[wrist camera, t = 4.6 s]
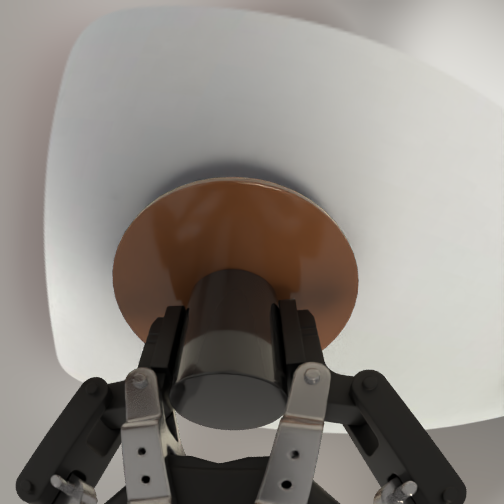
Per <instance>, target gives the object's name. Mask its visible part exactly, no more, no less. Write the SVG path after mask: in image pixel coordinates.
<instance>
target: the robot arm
mask: <svg viewBox="0 0 504 504" xmlns="http://www.w3.org/2000/svg"><path fill="white" fill-rule="evenodd" d="M185 314H186V309H185V307H184V305H180V306H168V307H167V308H166V312H165V315H164V317H158V318H157V319H156V320H155V321H154V322H153V323H152V325H151V327H150V330H149V333H148V336H147V339H146V343H145V345H144V348H143V352H142V355H141V358H140V361H139V365H138V368H137V369H134V370H133V371H131V372H130V373H129V374H128V375H127V377H126V379H125V380H124V381H120V382H115V383H111V384H107V383H106V381H105V380H104V379H102V378H99V377H93V378H90V379H88V380H86V381H85V382H84V383H83V384H82V385H81V387H80V388H79V389H78V391H77V392H76V394H75V395H74V396H73V398H72V399H71V400H70V402H69V403H68V405H67V406H66V408H65V409H64V410H63V412H62V413H61V415H60V416H59V417H58V419H57V420H56V421H55V423H54V424H53V426H52V427H51V429H50V430H49V432H48V433H47V434H46V436H45V437H44V439H43V440H42V442H41V443H40V445H39V446H38V448H37V449H36V451H35V452H34V454H33V455H32V457H31V458H30V460H29V461H28V463H27V464H26V466H25V467H24V469H23V470H22V472H21V474H20V475H19V477H18V478H17V481H16V491H17V494H18V496H19V497H20V498H21V499H22V500H23V501H25V502H27V503H29V504H97V502H98V500H97V498H96V492H95V490H94V488H95V486H96V485H97V483H98V481H99V480H100V478H101V476H102V474H103V473H104V471H105V469H106V468H107V466H108V464H109V462H110V461H111V459H112V458H113V456H114V454H115V452H116V451H117V449H118V448H119V446H120V444H121V442H122V454H123V465H124V475H125V483H126V486H125V487H123V488H122V489H121V490H120V491H119V492H117V493H116V494H115V495H114V496H113V497H112V498H110V499H109V500H108V501H107V502H106V503H104V504H340V503H339V502H338V501H336V500H335V499H334V498H333V497H332V496H331V495H329V494H328V493H327V492H326V491H325V490H324V489H323V488H322V487H320V486H319V485H318V484H317V483H316V482H315V481H314V480H313V477H314V473H315V468H316V463H317V459H318V454H319V449H320V444H321V438H322V433H323V427H324V421H327V422H333V423H340V424H343V426H344V427H345V429H346V431H347V432H348V434H349V436H350V437H351V439H352V441H353V442H354V444H355V445H356V447H357V448H358V450H359V452H360V454H361V455H362V457H363V459H364V460H365V462H366V463H367V465H368V466H369V468H370V470H371V471H372V473H373V475H374V476H375V478H376V480H377V481H378V483H379V484H380V486H381V489H380V490H379V491H378V492H377V493H376V495H375V497H374V504H463V503H464V501H465V498H466V487H465V485H464V483H463V482H462V480H461V479H460V477H459V476H458V475H457V473H456V472H455V470H454V469H453V468H452V466H451V465H450V463H449V462H448V461H447V460H446V458H445V457H444V455H443V454H442V452H441V451H440V450H439V448H438V447H437V446H436V445H435V443H434V442H433V440H432V439H431V437H430V436H429V435H428V433H427V432H426V431H425V429H424V428H423V427H422V425H421V424H420V423H419V421H418V420H417V419H416V417H415V416H414V415H413V413H412V412H411V411H410V409H409V408H408V407H407V406H406V404H405V403H404V402H403V400H402V399H401V398H400V396H399V395H398V394H397V392H396V391H395V390H394V389H393V387H392V386H391V385H390V383H389V382H388V381H387V379H386V378H385V377H384V376H383V375H382V374H381V373H379V372H377V371H375V370H363V371H360V372H359V373H357V374H356V375H355V376H354V377H353V376H346V375H340V374H337V373H334V372H333V371H331V370H330V369H329V368H328V367H327V366H326V364H325V362H324V357H323V353H322V348H321V344H320V340H319V335H318V331H317V328H316V322H315V318H314V316H313V315H312V314H311V313H310V311H309V310H308V309H304V310H297V306H296V301H295V299H285V300H279V314H280V323H281V332H282V341H283V350H284V359H285V369H286V377H287V385H288V395H289V396H288V400H287V404H286V408H285V412H284V415H283V417H282V418H281V420H280V423H279V426H278V430H277V433H276V437H275V440H274V444H273V447H272V450H271V454H270V456H265V457H246V458H242V459H238V460H234V461H229V462H225V463H215V462H211V461H207V460H204V459H200V458H196V457H193V456H186V454H185V452H184V450H183V447H182V444H181V439H180V434H179V429H178V423H177V418H176V412H175V410H174V409H173V407H172V406H171V404H170V401H169V389H170V384H171V379H172V374H173V369H174V364H175V359H176V355H177V350H178V345H179V341H180V336H181V332H182V327H183V323H184V318H185Z"/></svg>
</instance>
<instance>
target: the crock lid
mask: <svg viewBox="0 0 504 504" xmlns="http://www.w3.org/2000/svg"><path fill="white" fill-rule="evenodd" d="M112 272H113V288H114V293H115V298H116V301H117V303H118V306H119V309H120V311H121V313H122V315H123V317H124V319H125V320H126V322H127V323H128V325H129V326H130V328H131V329H132V330H133V332H134V333H135V334H136V335H137V336H138V337H139V338H140V339H141V340H142V341H143V342H144V343H146V339H147V336H148V333H149V330H150V327H151V325H152V323H153V322H154V321H155V320H156V319H157V318H158V317H164V315H165V312H166V308H167V307H168V306H180V305H184V307H185V309H186V314H185V318H184V323H183V327H182V332H181V336H180V341H179V345H178V350H177V355H176V359H175V364H174V369H173V374H172V379H171V384H170V389H169V401H170V404H171V406H172V407H173V409H174V410H175V411H176V412H177V413H178V414H180V415H181V416H182V417H184V418H186V419H188V420H189V421H192V422H194V423H196V424H199V425H202V426H206V427H210V428H215V429H222V430H245V429H252V428H257V427H261V426H264V425H267V424H270V423H272V422H274V421H276V420H277V419H279V418H280V417H281V416H282V415H283V414H284V412H285V408H286V404H287V400H288V396H289V395H288V385H287V377H286V369H285V359H284V350H283V341H282V332H281V323H280V314H279V300H285V299H295V301H296V306H297V310H304V309H308V310H309V311H310V313H311V314H312V315H313V316H314V318H315V322H316V328H317V331H318V335H319V340H320V344H321V348H322V350H323V349H325V348H326V347H327V346H328V345H329V344H330V343H331V342H332V341H333V340H334V339H335V338H336V337H337V336H338V335H339V333H340V332H341V331H342V330H343V328H344V327H345V325H346V323H347V322H348V320H349V318H350V316H351V314H352V311H353V309H354V306H355V302H356V298H357V294H358V281H359V280H358V269H357V264H356V260H355V257H354V253H353V251H352V249H351V247H350V245H349V242H348V240H347V239H346V237H345V235H344V234H343V232H342V231H341V229H340V228H339V226H338V225H337V223H336V222H335V221H334V220H333V219H332V218H331V217H330V216H329V215H328V214H327V212H326V211H325V210H323V209H322V208H321V207H319V206H318V205H317V204H316V203H314V202H313V201H312V200H310V199H309V198H307V197H305V196H303V195H302V194H300V193H298V192H296V191H294V190H292V189H289V188H287V187H284V186H282V185H279V184H276V183H272V182H268V181H264V180H260V179H254V178H244V177H217V178H211V179H205V180H199V181H195V182H192V183H189V184H186V185H183V186H180V187H177V188H175V189H173V190H171V191H169V192H167V193H165V194H163V195H162V196H160V197H159V198H157V199H156V200H154V201H153V202H152V203H150V204H149V205H148V206H147V207H146V208H145V209H144V210H142V211H141V212H140V213H139V214H138V215H137V217H136V218H135V219H134V221H133V222H132V223H131V225H130V226H129V227H128V229H127V230H126V231H125V233H124V235H123V237H122V239H121V241H120V243H119V245H118V248H117V251H116V254H115V257H114V264H113V271H112Z"/></svg>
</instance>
